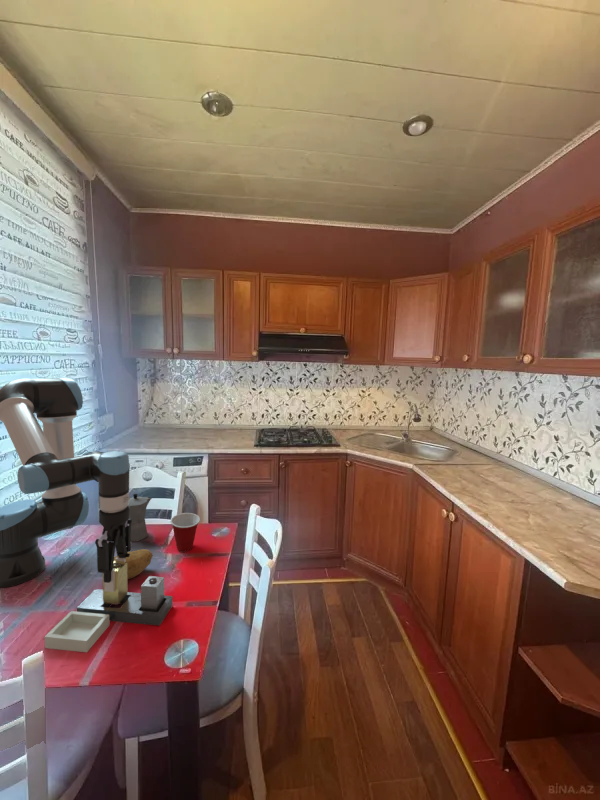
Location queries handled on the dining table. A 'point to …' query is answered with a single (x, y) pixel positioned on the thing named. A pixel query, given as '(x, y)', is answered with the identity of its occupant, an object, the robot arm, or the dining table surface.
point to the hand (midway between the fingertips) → (115, 584)
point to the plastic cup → (185, 530)
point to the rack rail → (125, 608)
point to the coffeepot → (138, 517)
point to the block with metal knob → (117, 584)
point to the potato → (137, 562)
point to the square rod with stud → (152, 594)
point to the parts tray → (77, 631)
